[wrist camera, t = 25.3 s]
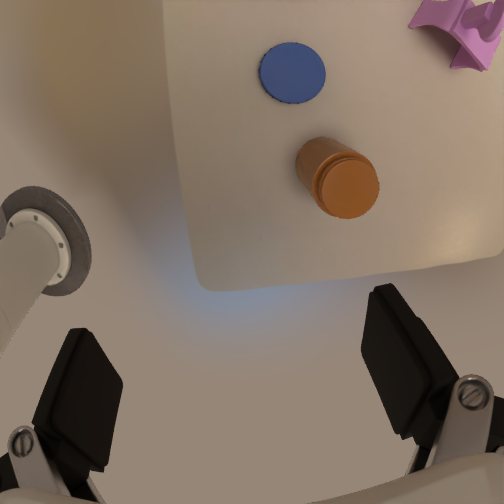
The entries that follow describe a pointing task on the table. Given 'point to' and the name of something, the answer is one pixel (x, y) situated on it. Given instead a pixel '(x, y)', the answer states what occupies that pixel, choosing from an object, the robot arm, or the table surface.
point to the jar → (337, 178)
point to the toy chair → (466, 28)
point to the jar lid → (292, 73)
